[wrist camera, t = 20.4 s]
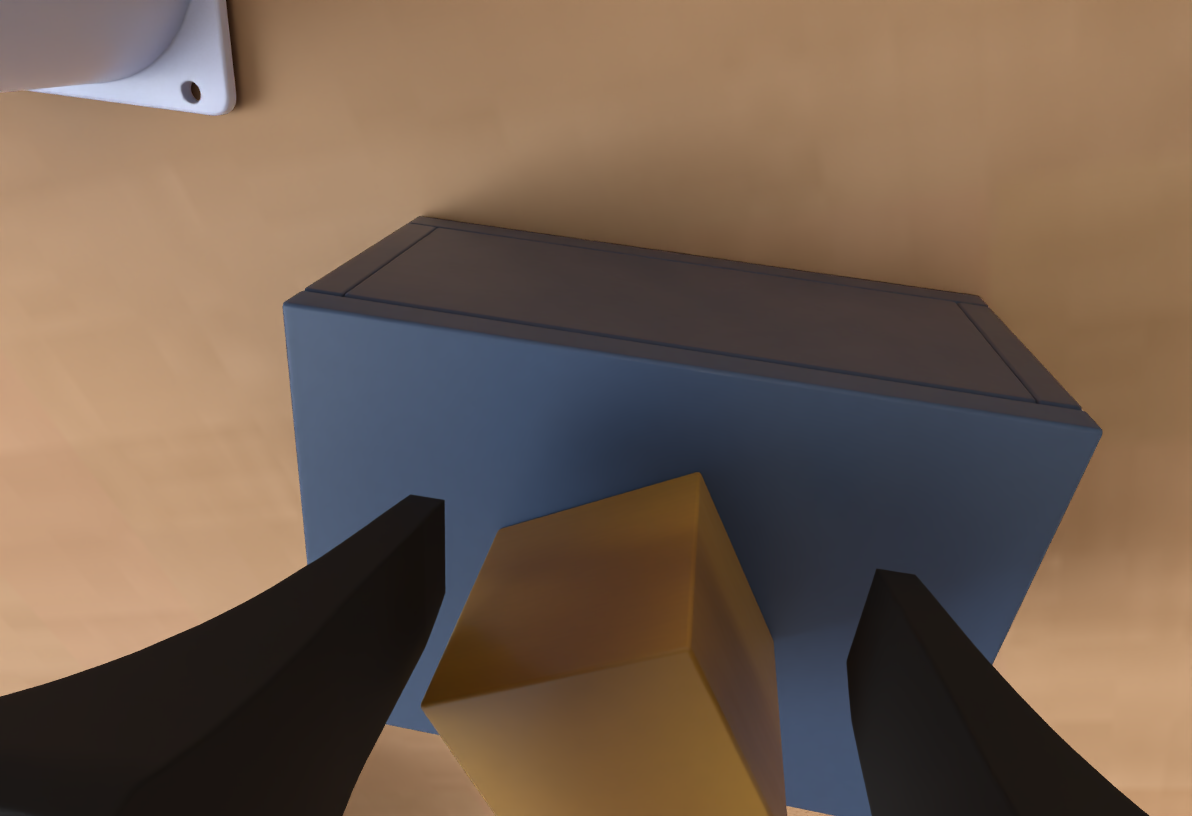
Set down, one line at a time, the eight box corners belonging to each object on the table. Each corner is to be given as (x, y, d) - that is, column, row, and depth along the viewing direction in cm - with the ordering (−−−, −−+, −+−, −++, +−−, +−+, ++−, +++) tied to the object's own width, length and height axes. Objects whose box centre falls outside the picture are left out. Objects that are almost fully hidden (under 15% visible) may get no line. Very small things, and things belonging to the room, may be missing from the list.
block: (584, 680, 17) (541, 884, 13) (496, 528, 16) (417, 706, 12) (774, 640, 16) (790, 854, 12) (700, 469, 14) (690, 648, 10)
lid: (906, 802, 19) (913, 833, 18) (334, 688, 20) (320, 712, 19) (1086, 409, 13) (1106, 431, 13) (301, 288, 15) (280, 302, 14)
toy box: (871, 602, 24) (915, 780, 18) (420, 522, 25) (332, 664, 19) (980, 295, 19) (1085, 408, 13) (418, 215, 20) (302, 287, 15)
